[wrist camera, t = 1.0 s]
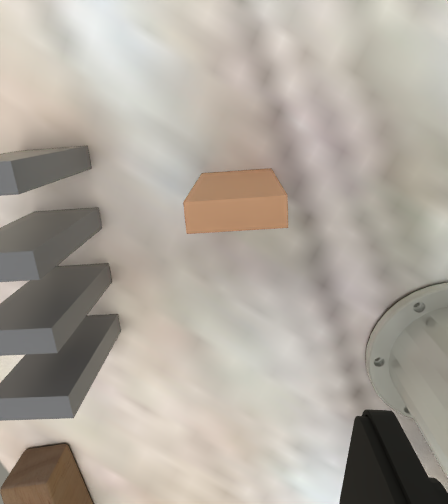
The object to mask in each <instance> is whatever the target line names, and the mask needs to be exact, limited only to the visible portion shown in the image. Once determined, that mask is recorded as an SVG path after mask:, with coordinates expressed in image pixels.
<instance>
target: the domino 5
mask: <svg viewBox="0 0 448 504" xmlns="http://www.w3.org/2000/svg"><path fill="white" fill-rule="evenodd" d="M183 204H184V214H185V223H186V232H187V234H193V233H209V232H225V231H242V230H258V229H275V228H288V201H287V194H286V192H285V191H284V189H283V187H282V186H281V184H280V182H279V181H278V179H277V177H276V176H275V174H274V172H273V171H272V169H256V170H242V171H228V172H214V173H202V174H201V175H200V177H199V179H198V180H197V182H196V183H195V185H194V186H193V188H192V189H191V191H190V192H189V194H188V196H187V197H186V199H185V200H184V202H183Z"/></svg>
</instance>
